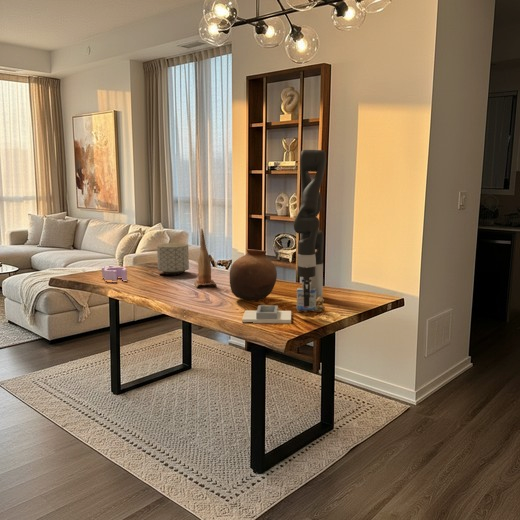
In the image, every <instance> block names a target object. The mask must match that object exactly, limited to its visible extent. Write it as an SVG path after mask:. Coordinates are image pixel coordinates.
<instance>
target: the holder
mask: <svg viewBox="0 0 520 520" xmlns="http://www.w3.org/2000/svg"><path fill="white" fill-rule="evenodd" d="M242 322H253V323H252V324H291V323H292V310H279V305H266V304H265V305H261V304H260V305H258V306H257V309H256V310H244V313H243V316H242V318H241V323H242Z"/></svg>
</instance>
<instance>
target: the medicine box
mask: <svg viewBox="0 0 520 520" xmlns="http://www.w3.org/2000/svg"><path fill="white" fill-rule="evenodd" d="M305 294H308V292H306V293H305ZM303 295H304V292H303V291H302V287H297V289H296V310H297V311H298V310H308V311H310V310H315V309H316V288H311V292H310V298H309V306H304V297H303Z"/></svg>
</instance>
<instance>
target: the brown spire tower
mask: <svg viewBox="0 0 520 520" xmlns="http://www.w3.org/2000/svg"><path fill="white" fill-rule="evenodd" d="M211 262H212V261H211V258H210V255H209V253H208V249H207V245H206V240H205V232H204V229H203V228H201V229H200V248H199V253H198V258H197V270H198V271H197V272H198V273H197V275H198V280H195V281H194V286H195V288H196V289H198V287H199V286H202V285H213V286H215V287H217V284H216V282H215V281H214V280H213V279H212V265H211V264H212V263H211Z"/></svg>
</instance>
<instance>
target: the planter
mask: <svg viewBox="0 0 520 520" xmlns="http://www.w3.org/2000/svg"><path fill="white" fill-rule="evenodd" d="M156 254H157V257H156V258H157V271H160V272H162V273H164V274H165V275H168V274H178V275H181V274H183V273H184V272H186V271H188V270H189V269H190V258H189V256H190V255H189V254H190V253H189V243H185V242H165V243H159V244H157V245H156Z"/></svg>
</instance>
